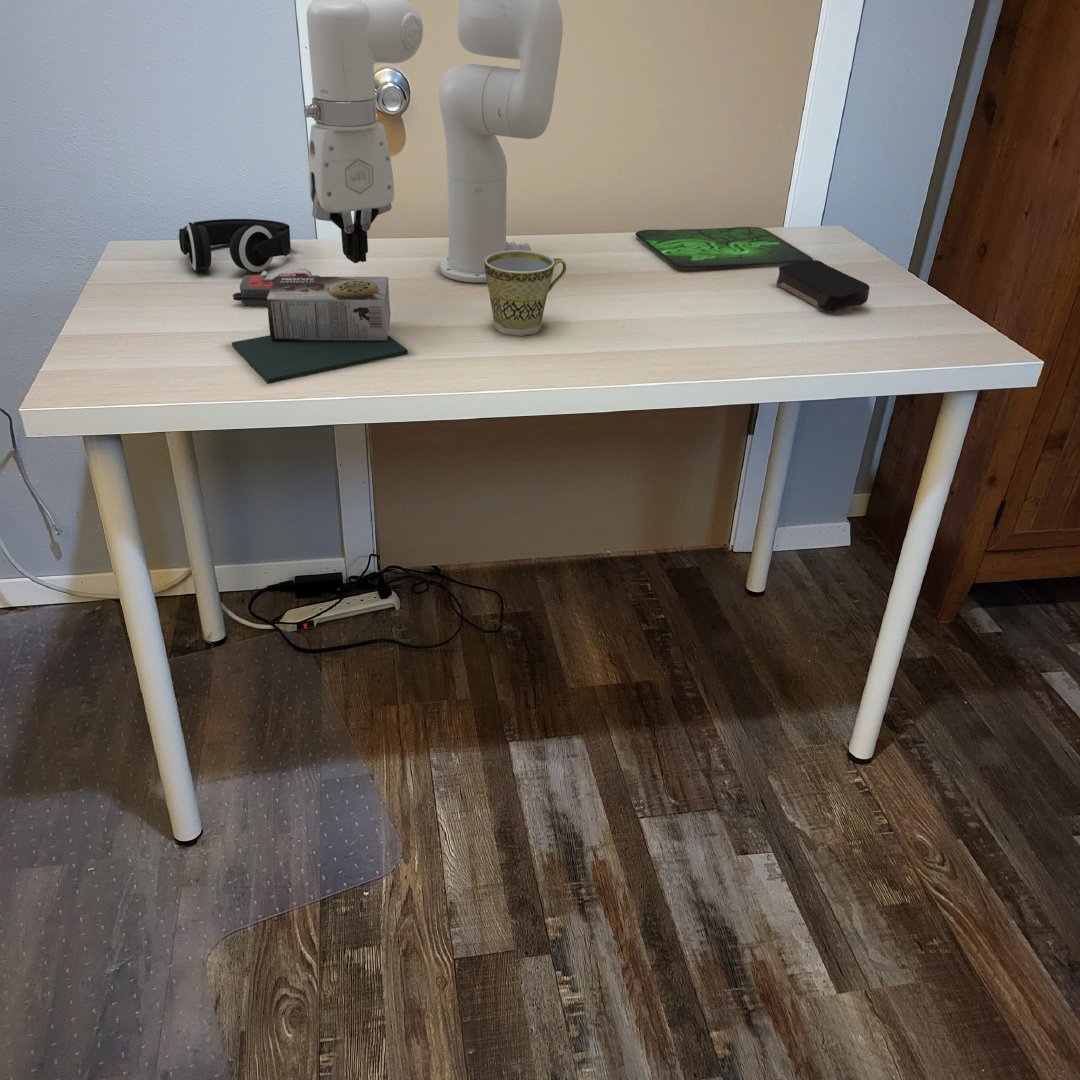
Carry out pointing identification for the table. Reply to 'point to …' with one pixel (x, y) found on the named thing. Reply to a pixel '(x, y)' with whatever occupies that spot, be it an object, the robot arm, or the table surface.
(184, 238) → the headphones
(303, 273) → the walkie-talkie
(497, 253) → the ceramic cup
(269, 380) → the mat
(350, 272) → the table surface
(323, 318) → the coffee box
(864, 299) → the black flat block
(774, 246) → the mouse mat
